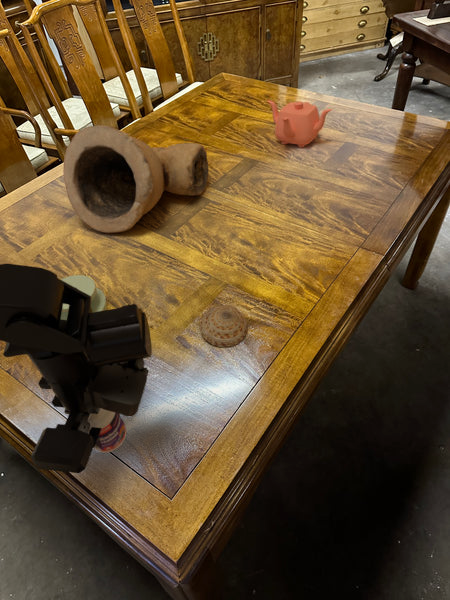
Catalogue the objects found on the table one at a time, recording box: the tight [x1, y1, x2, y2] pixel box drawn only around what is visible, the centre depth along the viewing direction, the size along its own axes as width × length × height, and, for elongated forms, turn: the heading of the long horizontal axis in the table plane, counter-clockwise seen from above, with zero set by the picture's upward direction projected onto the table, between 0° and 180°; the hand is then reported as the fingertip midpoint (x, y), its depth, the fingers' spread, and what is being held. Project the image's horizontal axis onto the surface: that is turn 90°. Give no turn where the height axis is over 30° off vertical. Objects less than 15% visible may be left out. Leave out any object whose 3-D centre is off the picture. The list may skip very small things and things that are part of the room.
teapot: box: [267, 100, 333, 148], centre depth 121 cm, size 14×14×11 cm
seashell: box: [199, 304, 248, 348], centre depth 74 cm, size 8×6×8 cm
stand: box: [60, 274, 108, 320], centre depth 80 cm, size 11×11×5 cm
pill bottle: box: [88, 408, 127, 454], centre depth 58 cm, size 5×5×10 cm
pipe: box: [62, 124, 209, 234], centre depth 103 cm, size 23×29×30 cm
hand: (104, 428), depth 60 cm, fingers closed on pill bottle, 5 cm apart
